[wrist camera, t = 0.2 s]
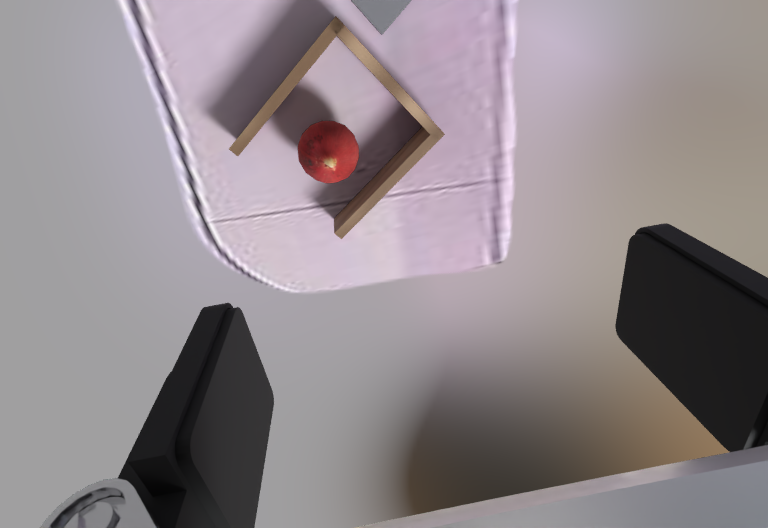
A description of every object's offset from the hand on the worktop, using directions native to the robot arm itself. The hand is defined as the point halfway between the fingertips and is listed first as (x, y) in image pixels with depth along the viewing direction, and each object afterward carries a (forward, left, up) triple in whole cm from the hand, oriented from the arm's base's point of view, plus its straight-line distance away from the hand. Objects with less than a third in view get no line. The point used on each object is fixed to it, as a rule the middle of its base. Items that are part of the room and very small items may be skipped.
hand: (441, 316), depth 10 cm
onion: (+1, -5, -37) cm, 37 cm away
